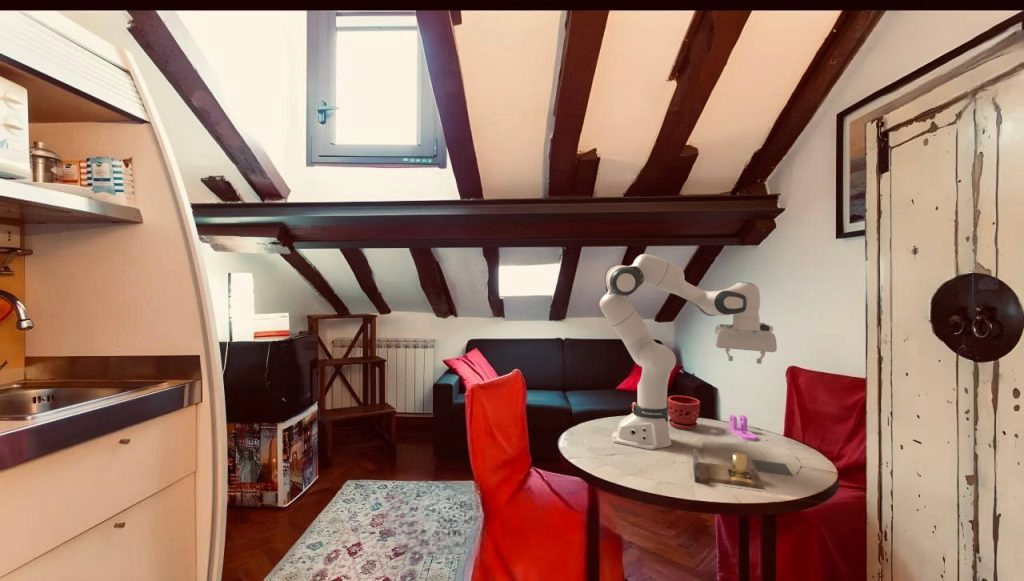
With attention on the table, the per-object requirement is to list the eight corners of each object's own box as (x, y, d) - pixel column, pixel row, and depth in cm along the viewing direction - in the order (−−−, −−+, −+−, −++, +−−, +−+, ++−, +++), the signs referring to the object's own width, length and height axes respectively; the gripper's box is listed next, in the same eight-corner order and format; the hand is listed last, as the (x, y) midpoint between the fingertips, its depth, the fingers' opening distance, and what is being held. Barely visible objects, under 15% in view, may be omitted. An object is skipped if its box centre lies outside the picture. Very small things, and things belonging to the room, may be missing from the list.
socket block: (694, 482, 131) (694, 462, 131) (693, 466, 142) (693, 449, 142) (761, 491, 124) (761, 471, 124) (754, 475, 135) (754, 456, 135)
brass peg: (732, 482, 130) (732, 456, 130) (731, 476, 134) (731, 451, 134) (747, 484, 129) (747, 458, 129) (745, 478, 133) (745, 453, 133)
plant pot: (665, 428, 181) (665, 400, 181) (669, 420, 192) (669, 394, 192) (698, 433, 175) (698, 404, 175) (701, 424, 186) (701, 397, 186)
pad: (757, 474, 136) (757, 471, 136) (751, 462, 145) (751, 459, 145) (793, 479, 132) (793, 476, 132) (785, 466, 142) (785, 463, 142)
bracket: (729, 430, 179) (729, 413, 179) (742, 430, 179) (742, 413, 179) (745, 441, 166) (745, 423, 166) (759, 441, 166) (759, 423, 166)
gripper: (715, 323, 161) (714, 359, 161) (778, 327, 153) (777, 365, 152) (715, 323, 167) (713, 358, 166) (775, 327, 158) (774, 364, 158)
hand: (744, 362), depth 159 cm, fingers open, 8 cm apart
